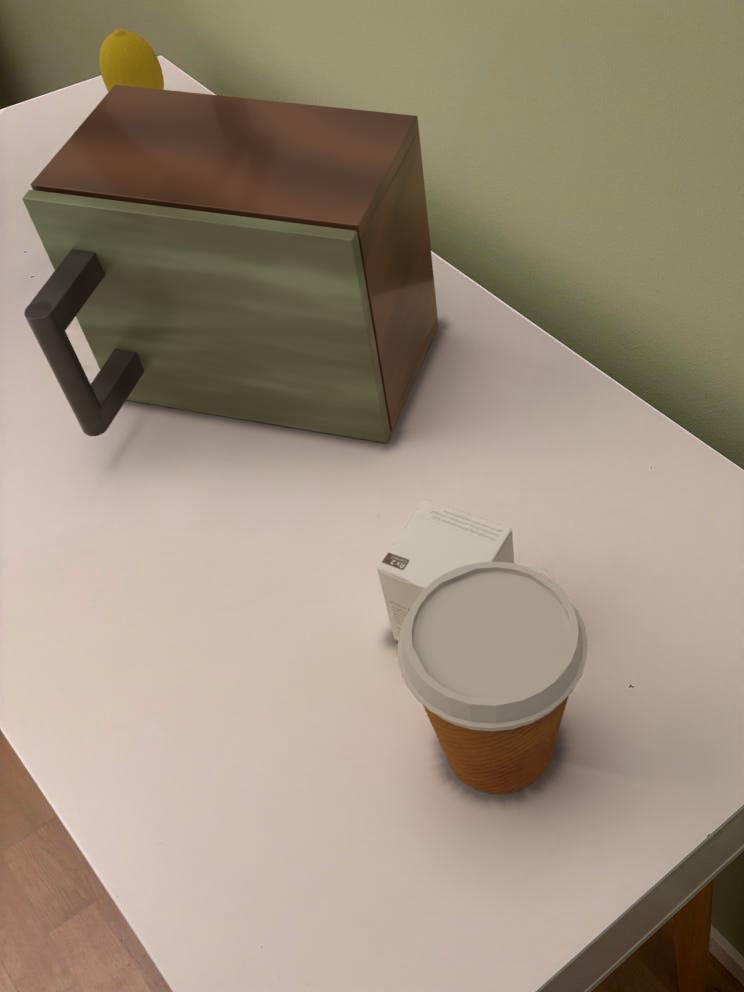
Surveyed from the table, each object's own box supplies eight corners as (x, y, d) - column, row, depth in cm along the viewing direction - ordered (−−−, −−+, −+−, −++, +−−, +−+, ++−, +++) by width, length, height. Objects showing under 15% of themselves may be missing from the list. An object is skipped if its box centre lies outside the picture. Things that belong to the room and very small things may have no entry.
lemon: (163, 131, 99) (136, 45, 92) (109, 129, 100) (78, 43, 93) (181, 100, 102) (156, 15, 95) (128, 98, 103) (100, 13, 96)
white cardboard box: (518, 600, 66) (516, 526, 60) (476, 674, 63) (469, 604, 57) (434, 570, 68) (424, 495, 62) (390, 640, 65) (374, 568, 59)
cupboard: (392, 432, 75) (358, 225, 61) (120, 388, 79) (29, 184, 65) (438, 325, 82) (417, 115, 67) (184, 289, 86) (114, 84, 71)
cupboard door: (355, 514, 71) (311, 316, 57) (69, 463, 75) (-37, 266, 61) (391, 433, 75) (357, 230, 61) (118, 389, 79) (28, 188, 65)
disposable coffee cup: (502, 853, 57) (494, 752, 47) (384, 749, 61) (354, 635, 51) (614, 740, 60) (629, 624, 50) (495, 649, 64) (487, 524, 54)
